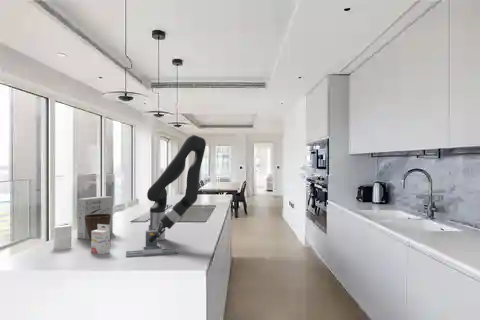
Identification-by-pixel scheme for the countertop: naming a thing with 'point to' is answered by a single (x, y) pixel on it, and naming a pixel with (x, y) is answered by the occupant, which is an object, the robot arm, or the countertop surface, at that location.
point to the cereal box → (93, 212)
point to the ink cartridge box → (100, 240)
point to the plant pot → (96, 221)
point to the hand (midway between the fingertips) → (149, 240)
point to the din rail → (151, 251)
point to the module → (149, 235)
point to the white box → (62, 237)
